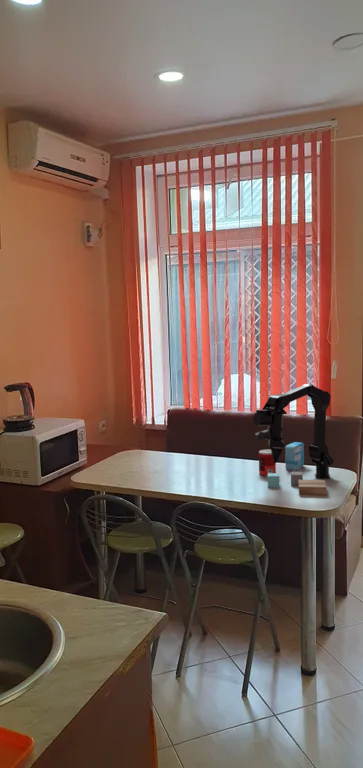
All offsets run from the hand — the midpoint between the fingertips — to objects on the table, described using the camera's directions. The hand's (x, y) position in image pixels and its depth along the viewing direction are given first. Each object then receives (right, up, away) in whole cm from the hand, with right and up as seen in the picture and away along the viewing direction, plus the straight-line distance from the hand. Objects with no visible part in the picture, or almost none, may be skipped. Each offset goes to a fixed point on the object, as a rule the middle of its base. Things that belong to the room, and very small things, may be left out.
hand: (274, 460), depth 252 cm
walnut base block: (+15, -13, -8) cm, 21 cm away
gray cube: (+10, -11, +4) cm, 16 cm away
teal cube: (0, -12, +3) cm, 12 cm away
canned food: (0, -10, +22) cm, 24 cm away
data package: (+15, -8, +31) cm, 36 cm away
